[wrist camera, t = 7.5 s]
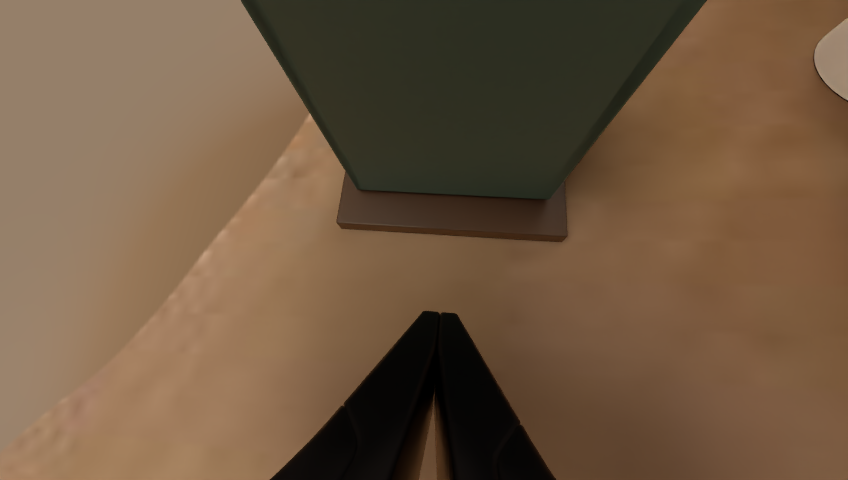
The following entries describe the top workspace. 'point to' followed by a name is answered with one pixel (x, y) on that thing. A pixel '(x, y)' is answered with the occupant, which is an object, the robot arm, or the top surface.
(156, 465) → the top surface
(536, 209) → the shelf base
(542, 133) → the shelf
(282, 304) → the top surface
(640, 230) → the top surface
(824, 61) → the cylindrical container
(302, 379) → the top surface
